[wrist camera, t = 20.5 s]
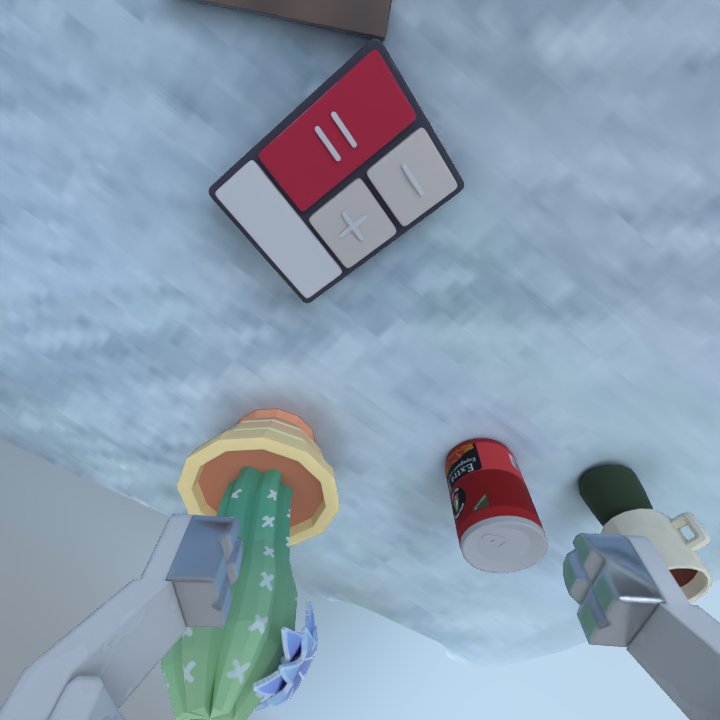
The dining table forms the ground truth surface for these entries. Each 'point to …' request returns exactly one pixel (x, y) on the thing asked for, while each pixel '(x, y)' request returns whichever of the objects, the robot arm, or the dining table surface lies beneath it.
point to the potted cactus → (253, 566)
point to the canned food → (493, 508)
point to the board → (321, 13)
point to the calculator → (339, 176)
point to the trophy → (647, 524)
